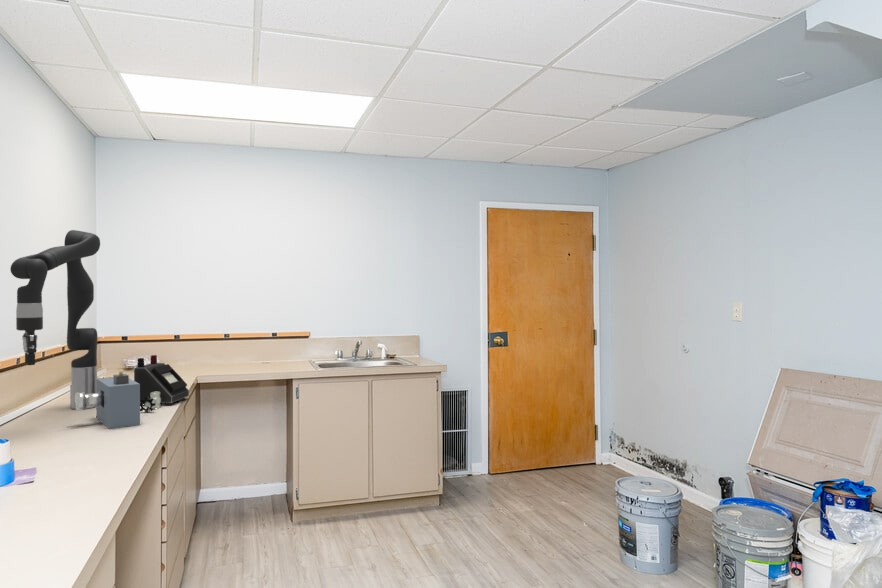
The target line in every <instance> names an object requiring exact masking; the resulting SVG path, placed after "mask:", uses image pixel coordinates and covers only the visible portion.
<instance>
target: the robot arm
mask: <svg viewBox="0 0 882 588" xmlns="http://www.w3.org/2000/svg"><path fill="white" fill-rule="evenodd" d="M100 247H101V239H100V237H99V236H98V235H97V234H95V233H92V232H88V231H81V230H76V229H71V230H69V231H67V232H66V234H65V237H64V245H61V246H60V245H58V246H54V247H50V248H46V249H45V250H42V251H41V252H39V253H36V254H30V255H26V256H23V257H19V258H17V259H15V260H13V262H12V263H11V265H10V273H11V275H12V276H13V277H14V278H16V279H19V280H20V279H21V280H29V281H28V283H27V284H26V285H23V286H22V285H21V286H19V287H18V288H17V290H16V291H17V292H16V303H17V304H16V311H15V313H16V318H15V319H16V320H15V321H16V324H15V325H16V326H15V327H16V330H17V331H20V332H21V331H24V333H23V335H22V339H21V340H22V347H23V348H22V349H23V352H24V364H26V365H27V366H34V365H36V353H37V347H38V343H37V342H38V335H37V334H35V333H36V332H35V331H41V330H43V329H44V314H43V313H44V310H43V308H44V307H43V296H42V295H43V289H44V286H45V282H46V278H47V275H48V272H49V271H52V270H54V269H56V268H59V267H60V266H62V265H64V264H66V273H67V274H66V275H67V276H66V277H67V283H66V285H67V286H66V298H67V299H66V300H67V329H66V346H67V349H68V350H69V351H76V352H77V351H87V353H85V354H84V355H82V356H80V357H78V358H73V359H72V360H71V362H70V365H71V368H70V369H71V372H70V373H71V377H70V378H71V384H70V385H69V386H70V388H69V389H70V390H69V391H70V393H69V395H70V403H69V404H70V408H71V409H72V410H76V407H75V394H76V393H78V392H85V394H91V393H96V379H98V357H97V355H98V331H97V329H96V328H95V327H84V328H83V327H81V328H77V327H78V324H79V321H80V320H81V318H83V317H82V316H83V315H84V314H86V311H88V309H89V308H90V306H91V305H92V304H93V302H94V298H95V295H94V294H95V293H94V291H95V290H94V289H95V288H94V287H95V285H94V282H93V280H92V279H91V277H90V275H89V274H88V272H87V270H86V269H85V267H84V265H83V263H82V259H83V258H86V257H87V258H88V257H90V256H94V255H95V254H97V253H98V251H99V250H100ZM92 408H96V406H93V407H86V408H85V410H87V409H92Z"/></svg>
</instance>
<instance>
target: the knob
mask: <svg viewBox="0 0 882 588" xmlns="http://www.w3.org/2000/svg"><path fill="white" fill-rule="evenodd" d="M101 405H104V392H100V393H91V394H85V392H78V393H76V394H75V407H76V409H75V411H84V410H86V409H85V408H86V407H93V406H101ZM93 408H94V407H93Z"/></svg>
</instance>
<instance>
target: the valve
mask: <svg viewBox="0 0 882 588" xmlns="http://www.w3.org/2000/svg"><path fill="white" fill-rule="evenodd" d="M150 397H151V398H150V399H148V396H146V397H145V400H143V399H140V402H141V404H140V412H143V411H144V413H145V414H148V413H149V411H150V412H153V411H154V410H155V409H153V408H157V409H160V408H161V403H160V402H161V398H160V392H151V393H150ZM145 401H148V402H145ZM143 403H145V404H144V405H142V404H143Z"/></svg>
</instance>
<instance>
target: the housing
mask: <svg viewBox="0 0 882 588" xmlns="http://www.w3.org/2000/svg"><path fill="white" fill-rule="evenodd" d="M100 392H104V405H101V406H96V407H95V408H96V418H97V419H98V420H99V421H100V422H101V423H102V424H103V425H104V426H105V427H106V428H108V429H109V430H112V429H119V427H120V428H126V426H127V427H134V426H140V425H141V411H140V409H141V406H140V384H139V383H137V382H135V381H134V379H131V378H129V384H119V385H116V384H114V381H113V377H101V378H97V379H96V393H100ZM133 425H134V426H133Z"/></svg>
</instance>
